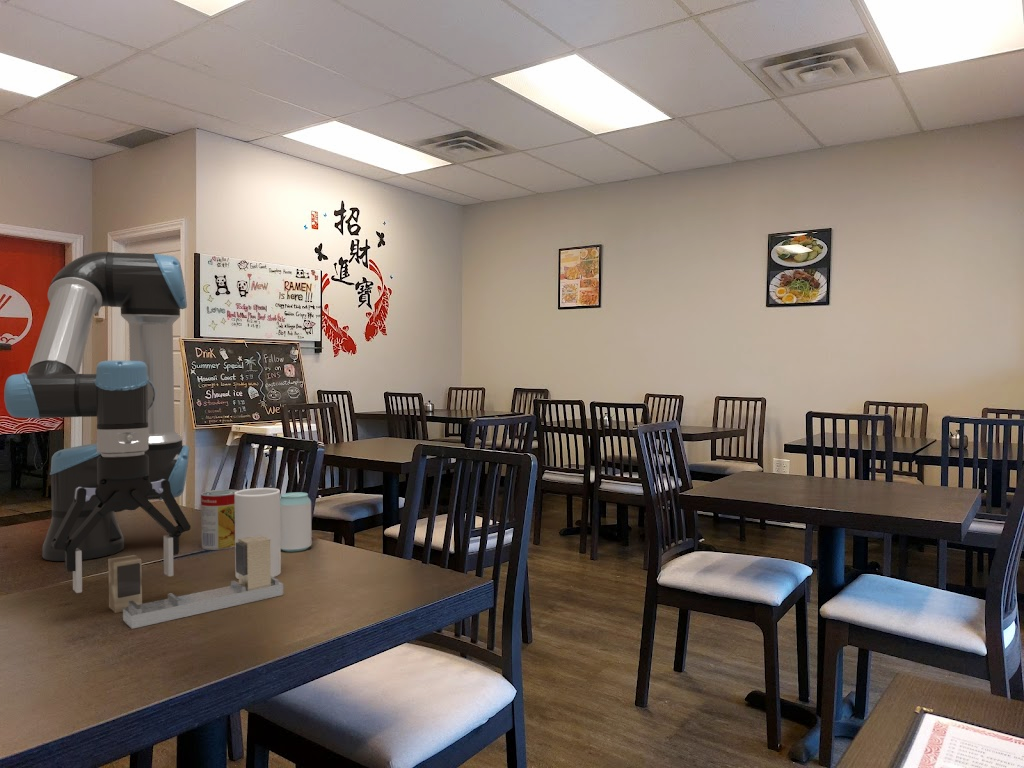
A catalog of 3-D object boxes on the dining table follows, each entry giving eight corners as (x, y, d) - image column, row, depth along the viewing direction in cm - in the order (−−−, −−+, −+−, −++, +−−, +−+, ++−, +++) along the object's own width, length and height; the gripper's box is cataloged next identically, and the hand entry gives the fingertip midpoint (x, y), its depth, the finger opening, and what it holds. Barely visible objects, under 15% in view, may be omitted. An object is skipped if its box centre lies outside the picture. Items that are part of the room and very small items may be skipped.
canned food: (246, 542, 163) (246, 490, 163) (225, 550, 155) (224, 495, 155) (216, 540, 165) (215, 488, 164) (193, 549, 157) (193, 494, 157)
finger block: (109, 607, 118) (108, 559, 118) (135, 601, 121) (134, 554, 121) (116, 614, 115) (115, 564, 115) (143, 608, 118) (142, 560, 118)
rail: (123, 620, 112) (122, 556, 112) (271, 588, 128) (270, 533, 128) (131, 628, 108) (130, 563, 108) (283, 594, 124) (282, 537, 124)
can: (306, 552, 153) (305, 497, 153) (273, 552, 153) (272, 497, 153) (315, 544, 160) (314, 491, 160) (284, 544, 160) (283, 491, 160)
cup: (266, 581, 132) (265, 495, 132) (226, 579, 134) (225, 494, 134) (288, 569, 140) (287, 488, 140) (250, 567, 142) (250, 487, 142)
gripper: (37, 462, 107) (39, 603, 107) (208, 450, 123) (210, 572, 123) (29, 458, 112) (30, 593, 112) (194, 447, 129) (195, 564, 129)
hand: (124, 582), depth 118 cm, fingers open, 13 cm apart
